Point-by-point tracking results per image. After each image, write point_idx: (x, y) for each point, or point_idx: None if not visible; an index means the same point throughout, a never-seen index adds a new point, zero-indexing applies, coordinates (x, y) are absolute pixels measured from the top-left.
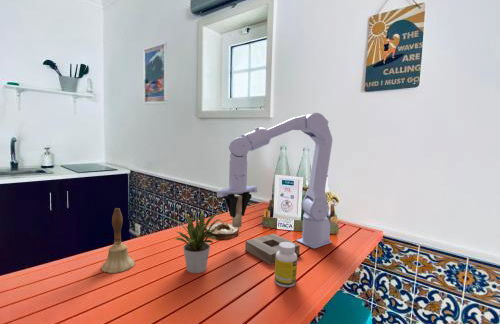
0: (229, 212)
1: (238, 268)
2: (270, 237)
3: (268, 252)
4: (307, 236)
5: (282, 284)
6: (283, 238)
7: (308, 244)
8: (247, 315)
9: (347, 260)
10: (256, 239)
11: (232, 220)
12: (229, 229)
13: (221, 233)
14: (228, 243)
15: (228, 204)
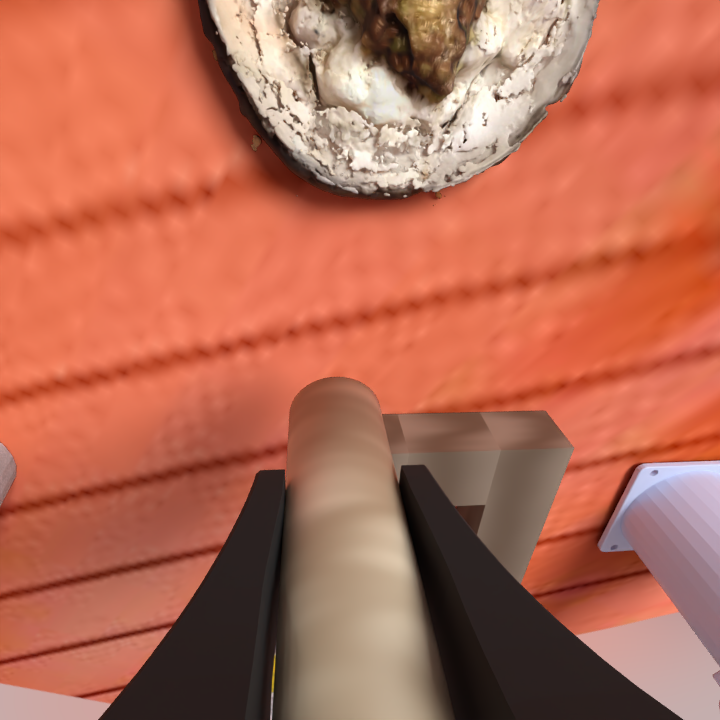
0: (245, 504)
1: (177, 534)
2: (500, 481)
3: None
4: (648, 554)
5: None
6: (540, 519)
7: (618, 525)
8: (79, 689)
9: (576, 627)
10: None
11: (290, 440)
12: (433, 100)
13: (323, 100)
14: (292, 277)
15: (198, 633)
